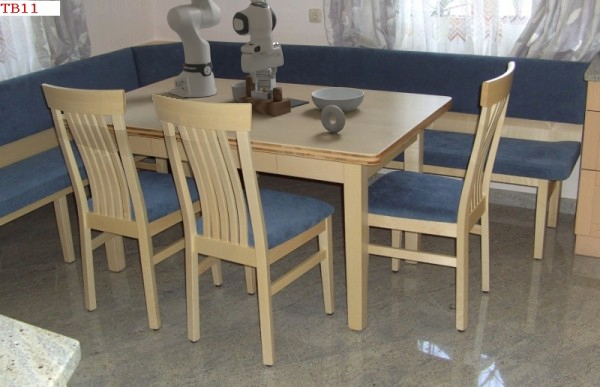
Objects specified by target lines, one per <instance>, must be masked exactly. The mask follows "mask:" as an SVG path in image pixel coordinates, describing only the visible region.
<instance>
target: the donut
mask: <svg viewBox="0 0 600 387" xmlns="http://www.w3.org/2000/svg"><path fill="white" fill-rule="evenodd" d="M344 113H345V112H343V111H342V110H341V109H340V108H339V107H337V106H335V105H329V106H327V107H325V108H324V109H323V110H322V111H321V113H320V121H321V124H322V127H323V128H324V129H325V130H326V131H327V132H330V133H332V134H337V133H340V132H341V131H342V130H343V129H345V128H344V127H345V125H346V116H345V114H344ZM331 116H333V117H334V118H335V123H334V122H332V119H331Z"/></svg>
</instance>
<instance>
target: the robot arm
mask: <svg viewBox="0 0 600 387" xmlns="http://www.w3.org/2000/svg"><path fill="white" fill-rule="evenodd" d="M190 1H191V3H186V4H180V5H177V6H175V7H172V8H170V9H168V12H167V15H166V16H167V17H166V21H167V22H166V23H167V25H168V26H169V28H170V29H171V30H172V31H173V32H175V33H176V34H177V35H178V36H179V39H180V40H181V43H182V47H183V51H184V63H182V64H181V67H183V68H182V71H181V72H180V74H178V76H176V78H175V79H174V84H173V86H174V87H173V88H172V89H169V94H173V95H175V96H177V97H181V98H184V97H188V98H203V97H210V96H214V95H216V94H217V93H218V92H217V91H218V88H217V87H216V83H215V82H216V81H215V76H214V72H213V71H212V70H213V64H212V63H213V62H212V60H211V48H210V43H209V42H208V41H207V40H206V39H204V38H202V36H201V35H200V30H205V29H210V28H212V27H215V26H217V25H219V24H220V22H221V19H222V10H221V8H220V7H219V6H218V4H217V3H215V2H214V0H190ZM249 1H250V3H249V4H248V6H247V7H246V8H244V9H242V10H240V11H236V13H235V14H234V15H233V17H232V27H233V31H235V33H236V34H237V35H239V36H243V37H244V36H250V37H249V39H250V41H248V42H247V43H245V44H244V45H242V46H241V47H240V52H241V57H240V64H241V65H240V66H241V70H242V72H243V73H246V74H249V75H250V76H251V77H252V79H253V83H258V78H256V76H255V74H256V71H261V70H265V69H270V68H271V70H272V71H271V74H269V76H270V79H275V77H276V74H277V71H278V67H281V66H283V65H284V62H285V61H284V55H283V50H282V45H281V44H280V43H279V42H274V36H273V30H275V28H276V26H277V15H276V14H275V12H274V10H273V9H272V8H271V6H270V5H269V3H268V1H267V0H249Z"/></svg>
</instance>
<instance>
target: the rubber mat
mask: <svg viewBox="0 0 600 387" xmlns="http://www.w3.org/2000/svg"><path fill="white" fill-rule="evenodd" d="M285 99H290V103H291V109H293V108H297V107H300V106H304V105H307V104H309V103H310V101H308V100H304V99H297V98H290V97H286V98H285Z"/></svg>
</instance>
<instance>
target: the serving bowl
mask: <svg viewBox="0 0 600 387" xmlns="http://www.w3.org/2000/svg"><path fill="white" fill-rule="evenodd" d="M310 95H311V99H312V100H311V101H312V102H313V104H314V106H315V107H317V109H320V110H322V111H323V109H324V108H325V107H327V106H329V105H335V106H337V107H339V108H340V109H341V110H342V111H343V113H346V111H347V112H350V111H353V110H355V109H356V108H358V107H359V106H361V105H362V103H363V101H364V98H365V92H364V91H363V90H361V89H358V88H353V87H342V86H338V87H324V88H319V89H316V90H314V91H312V92H311V94H310Z"/></svg>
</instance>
